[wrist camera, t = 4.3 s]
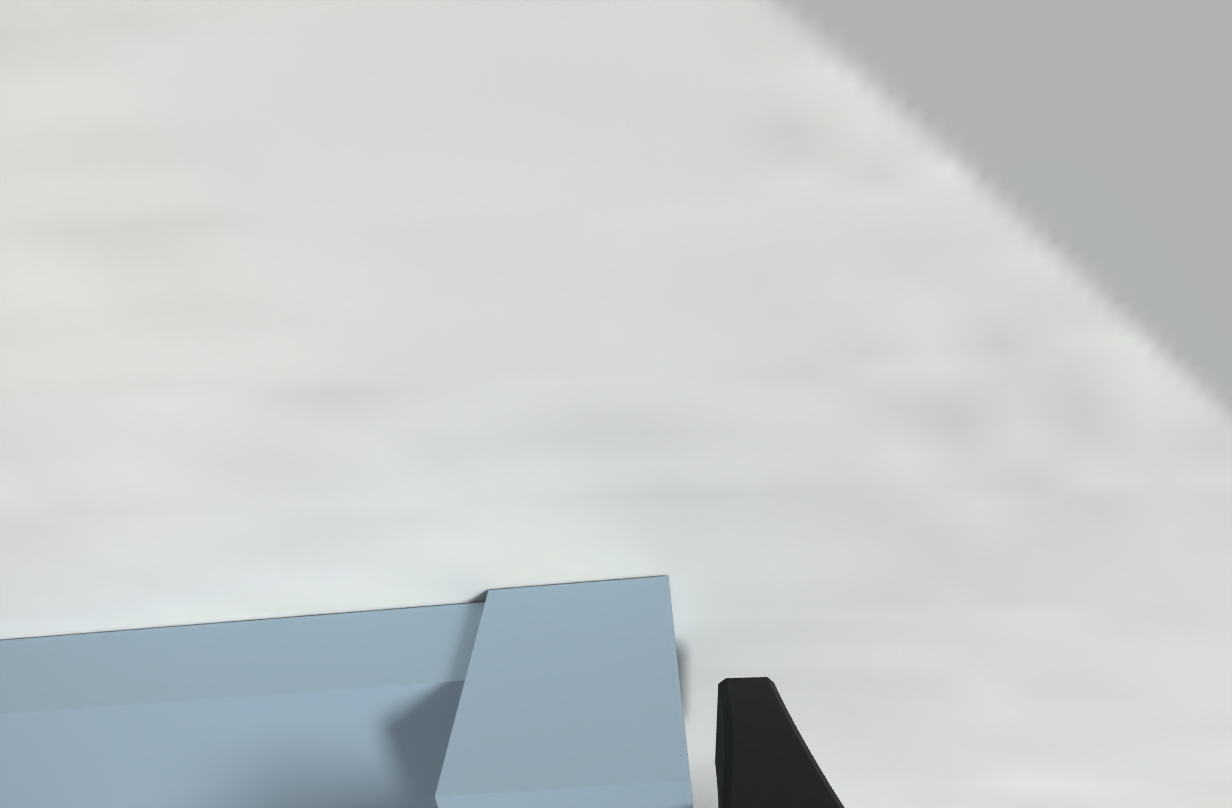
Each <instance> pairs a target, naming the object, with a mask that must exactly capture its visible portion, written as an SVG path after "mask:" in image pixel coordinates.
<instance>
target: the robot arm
mask: <svg viewBox="0 0 1232 808" xmlns="http://www.w3.org/2000/svg"><path fill="white" fill-rule="evenodd" d="M715 765H716V775H717V787H718V807H719V808H844V806H843V805H842V803H841V802H840V800H839V798H838V797H837V795H836V794H835V792H834V791H833V789H832V787H831V786H830V784H829V783H828V781H827V779H826V778H825V776H824V774H823V773H822V771H821V769H820V768H819V766H818V764H817V763H816V761H815V759H814V757H813V756H812V754H811V752H810V750H809V749H808V747H807V745H806V744H805V742H804V740H803V738H802V736H801V735H800V733H799V731H798V729H797V727H796V726H795V724H794V722H793V720H792V718H791V716H790V714H789V712H788V710H787V709H786V707H785V705H784V703H783V701H782V699H781V697H780V695H779V692H778V690H777V688H776V686H775V684H774V682H773V681H771V680H770V679H769V678H768V677H752V678H726V679H724V680H723V681H722V682H720V683H719V684H718V703H717V729H716V755H715Z"/></svg>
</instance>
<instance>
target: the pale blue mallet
mask: <svg viewBox="0 0 1232 808" xmlns="http://www.w3.org/2000/svg"><path fill="white" fill-rule="evenodd" d="M0 808H693V806H692V793H691V781H690V771H689V762H688V753H687V744H686V735H685V725H684V716H683V707H682V698H681V689H680V680H679V670H678V661H677V652H676V643H675V634H674V625H673V615H672V606H671V597H670V588H669V579H668V576H659V577H647V578H634V579H622V580H609V581H597V582H584V583H571V584H559V585H546V586H534V587H521V588H509V589H496V590H488V593H487V597H486V601H485V602H480V603H467V604H455V605H442V606H429V607H417V608H404V609H391V610H379V611H366V612H353V613H341V614H328V615H315V616H303V617H290V618H277V619H265V620H252V621H239V622H227V623H214V624H201V625H189V626H176V627H163V628H151V629H138V630H125V631H113V632H100V633H87V634H75V635H62V636H49V637H37V638H24V639H11V640H0Z"/></svg>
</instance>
